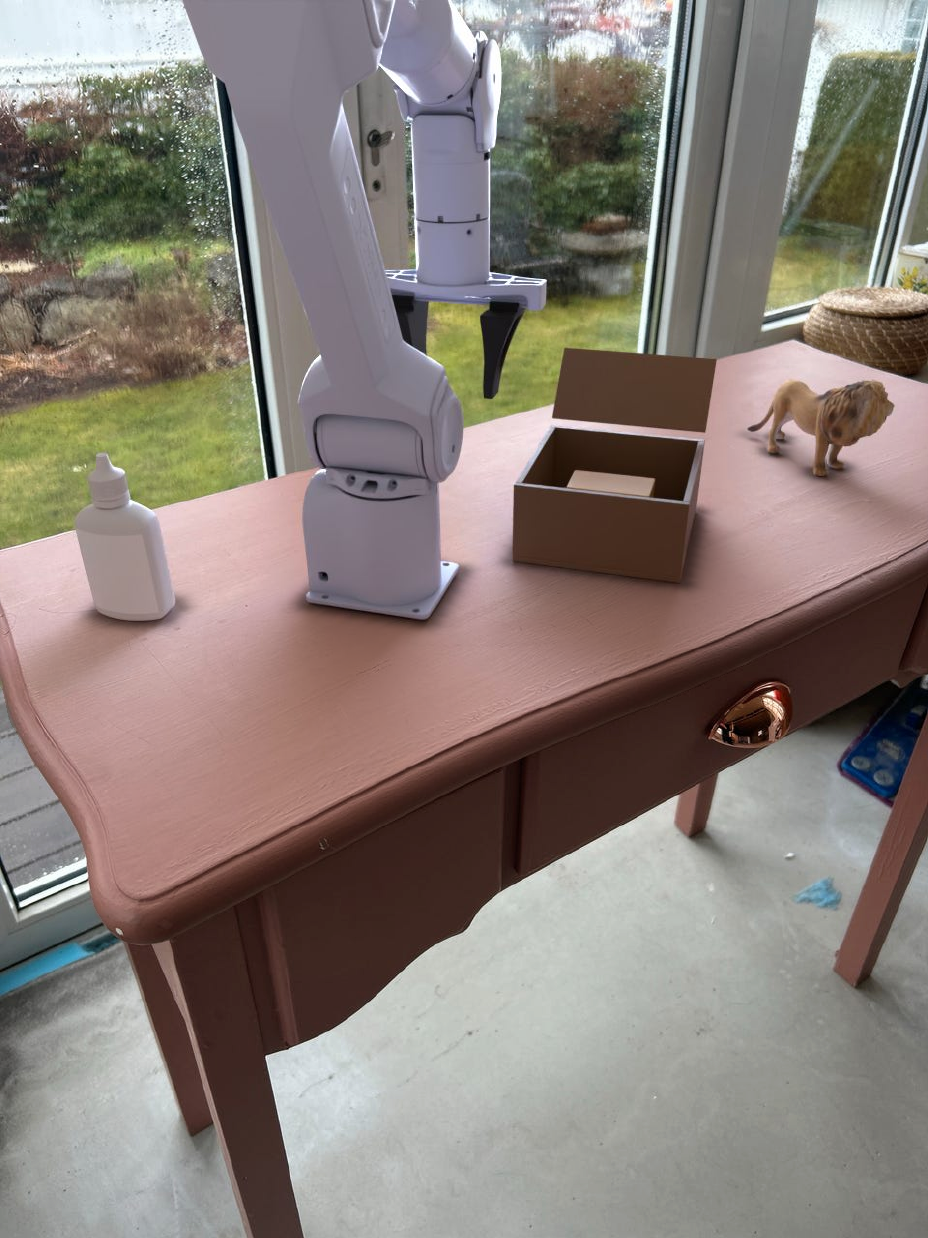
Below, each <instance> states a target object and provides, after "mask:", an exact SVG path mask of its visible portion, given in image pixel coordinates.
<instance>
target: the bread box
mask: <svg viewBox="0 0 928 1238" xmlns="http://www.w3.org/2000/svg"><path fill="white" fill-rule="evenodd" d="M705 443H706V439H700V438H690V437H679V436H678V437H677V436H669V435H659V434H658V435H657V434H649V433H648V434H647V433H639V432H638V433H636V432H627V431H617V430H605V429H598V428H597V429H594V428H584V427H573V426H564V425H553V424H551V425H550V426H549V428H548V429H547V430H546V433H545V434H544V435H543V437H542V439H541V441H540V442H539V444H538V446H537V447H536V449H535V450H534V452H533V454H532V455H531V457H530V459H529V460H528V462H527V463H526V465H525V467H524V468H523V469H522V471H521V473H520V474H519V476H518V478H517V479H516V481H515V483H514V484H513V505H512V506H513V507H512V509H513V510H512V559H511V560H512V562H518V563H520V562H521V563H527V564H533V565H540V566H541V565H542V566H549V567H556V568H564V569H572V570H579V571H586V572H595V573H601V574H610V575H617V576H625V577H632V578H639V579H647V580H653V581H662V582H667V583H668V582H669V583H677V584H680V583H681V580H682V574H683V571H684V566H685V561H686V557H687V552H688V547H689V543H690V539H691V535H692V529H693V525H694V521H695V516H696V512H697V506H698V505H697V504H698V497H699V489H700V482H701V473H702V467H703V458H704V453H705V452H704V451H705ZM575 470H580V471H589V472H599V473H608V474H617V475H627V476H636V477H646V478H655V489H654V498H649V497H640V496H631V495H622V494H613V493H604V492H595V491H586V490H577V489H568V488H566V487H567V485H568V483H569V481H570V479H571V477H572V475H573V474H574V472H575Z"/></svg>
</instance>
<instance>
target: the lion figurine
mask: <svg viewBox="0 0 928 1238" xmlns="http://www.w3.org/2000/svg"><path fill="white" fill-rule="evenodd" d="M888 396H889V393H888V392H886V387H885V386H884V384H883V382H882V381H878V380H875V379H862V380H861V381H857V382H854V383H851V384H846V385H845V386H840V387H838V388H836V387H833V388H830V389H828V390H827V391H826V392H824V393H823V394H818V393H816V392H814V391H813V390H811V388H810V387H809V385H808V384H807V383H805V382H803V381H800V380H795V379H788V380H785V381H783V382H782V383H781V384H780V385H779V387H778V388H777V390H776V392H775V394H774V397H773V399H772V402H771V404H770V406H769V408H768V411H767V412H766V414H765V416H764V418H763V419H762V420H761V421H759V422H758V423H755V424H752V425H751V426H749V427H747V428H746V430H747V431H748V432H751V433H754V432H757V431H760V430H761V429H762V428H763V427H764V426H765V425H766V424H767V423H768V422H769V420H770V419H771V417H772V416H773V417H772V424H771V427H770V429H769V431H768V443H767V447H766V450H767V452H768V453H770V454H777V453H780V452H781V447H780V446H779V445H778V443H777V440H782V439H785V437H786V433H785V432H784V431H782V427H783V426H784V425H786V424H787V423H789V422H791V421H793V422H794V423H795V425H796V426H797V427H798V428H799V429H800V430H801V431H802V432H804V433H806V434H807V435H810V436H814V437H815V446H814V457H813V463H812V464H813V465H812V473H813V475H815V476H817V477H824V476H827V474H828V470H827V469H826V463H827V465H828V466H829V468H832V469H835V470H839V469H842V468H843V466H844V462H843V461H842V460H839V459H838V455H840V452H841V450H842V448H843V447H852V446H853V445H855V444H857V443H858V442H859V440H860V439H863V438H866V437H871V436H873V435H874V434H876V433H877V432H878V430H879V429H880V430H881V428H882V426H883V425H884V424H885V423H886V421H887V417H890V416H891V415H892V414H893V411H894V408H896V407H895V404H894V402H892V401H890V399H888ZM829 447H830V448H829ZM826 458H827V459H826Z"/></svg>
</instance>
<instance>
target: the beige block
mask: <svg viewBox="0 0 928 1238" xmlns="http://www.w3.org/2000/svg"><path fill="white" fill-rule="evenodd" d="M566 488H568V489H577V490H586V491H595V492H604V493H613V494H622V495H631V496H640V497H649V498H654V489H655V478H646V477H636V476H627V475H617V474H608V473H599V472H589V471H580V470H575V472H574V474H573V475H572V477H571V479H570V481H569V483H568V485H567V487H566Z"/></svg>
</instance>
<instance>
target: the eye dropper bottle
mask: <svg viewBox="0 0 928 1238" xmlns="http://www.w3.org/2000/svg"><path fill="white" fill-rule="evenodd" d="M95 464H96V465H95V469H94V470H93V471H91V472H89V473H88V474H87V476H86V480H87V483H88V488H89V492H90V497H91V500H92V501H91V503H90V504H88V505H86V506H85V507H83V508H82V509H81V510H80V511H79V512H78V513H77V514H76V516H75V518H74V528H75V532H76V537H77V542H78V545H79V550H80V553H81V554H80V555H81V558H82V561H83V565H84V566H83V567H84V569H85V574H86V577H87V581H88V586H89V590H90V593H91V597H92V601H93V605H94V607H95V609H96V610H97V612H98V613H100V614H101V615H103V616H106V617H109V618H112V619H116V620H122V621H128V622H129V621H130V622H143V621H145V622H147V621H156V620H160V619H163V618H164V617H165V616H167V614H168V613H169V612H170V611H171V610H172V609H173V607H174V606H175V604H176V598H175V592H174V587H173V582H172V576H171V572H170V568H169V563H168V557H167V552H166V548H165V544H164V538H163V533H162V529H161V525H160V521H159V518H158V515H156V513H155V512H154V511H153V510H151V509H150V508H149V507H147V506H145V505H143V504H141V503H139V502H137V501H134V500H132V499H131V495H130V490H129V484H128V480H127V475H126V472H125V470H123V469H122V468H121V467H115V466H114V465H113V464H112V462H111V460H110V458H109V455H108V453H107V452H99V453H96V455H95Z"/></svg>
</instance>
